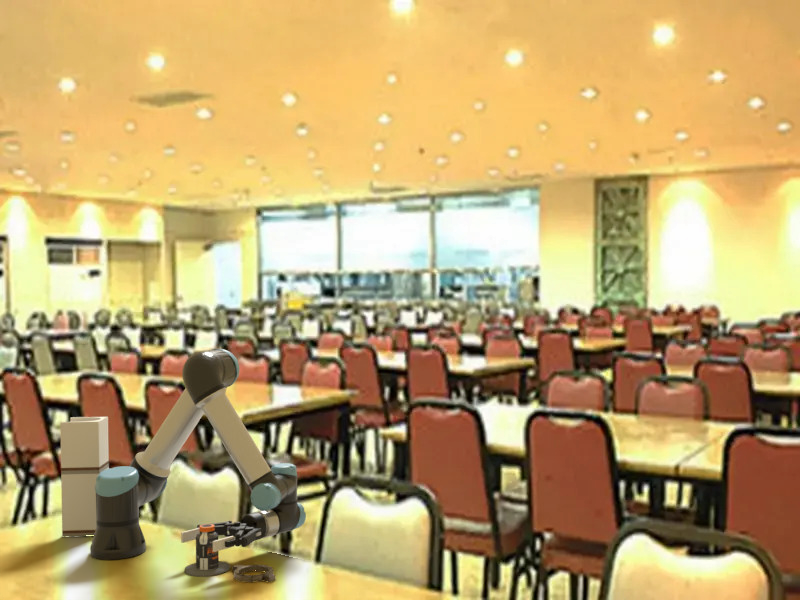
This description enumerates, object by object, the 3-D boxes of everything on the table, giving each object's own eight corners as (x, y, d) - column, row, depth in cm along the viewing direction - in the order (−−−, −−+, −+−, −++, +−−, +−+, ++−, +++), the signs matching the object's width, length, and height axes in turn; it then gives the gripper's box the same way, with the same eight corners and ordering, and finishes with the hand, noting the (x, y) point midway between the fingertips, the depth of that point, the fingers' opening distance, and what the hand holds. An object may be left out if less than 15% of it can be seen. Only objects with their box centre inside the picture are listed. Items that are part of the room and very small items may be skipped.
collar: (220, 575, 237) (220, 569, 237) (249, 565, 244) (249, 560, 244) (257, 586, 227) (257, 581, 227) (286, 576, 235) (286, 571, 235)
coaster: (175, 570, 241) (175, 568, 241) (211, 559, 250) (211, 558, 250) (203, 579, 233) (203, 577, 233) (239, 568, 242) (239, 566, 242)
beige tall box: (109, 527, 286) (107, 416, 286) (100, 536, 276) (98, 421, 275) (73, 528, 286) (71, 417, 285) (62, 537, 275) (60, 422, 274)
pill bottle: (209, 572, 238) (209, 529, 237) (191, 569, 240) (190, 526, 240) (223, 565, 243) (222, 523, 243) (205, 562, 246) (204, 521, 245)
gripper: (230, 505, 263) (169, 520, 247) (288, 519, 247) (227, 535, 231) (230, 531, 264) (169, 547, 247) (289, 546, 247) (227, 565, 231)
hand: (197, 542), depth 239 cm, fingers open, 13 cm apart
